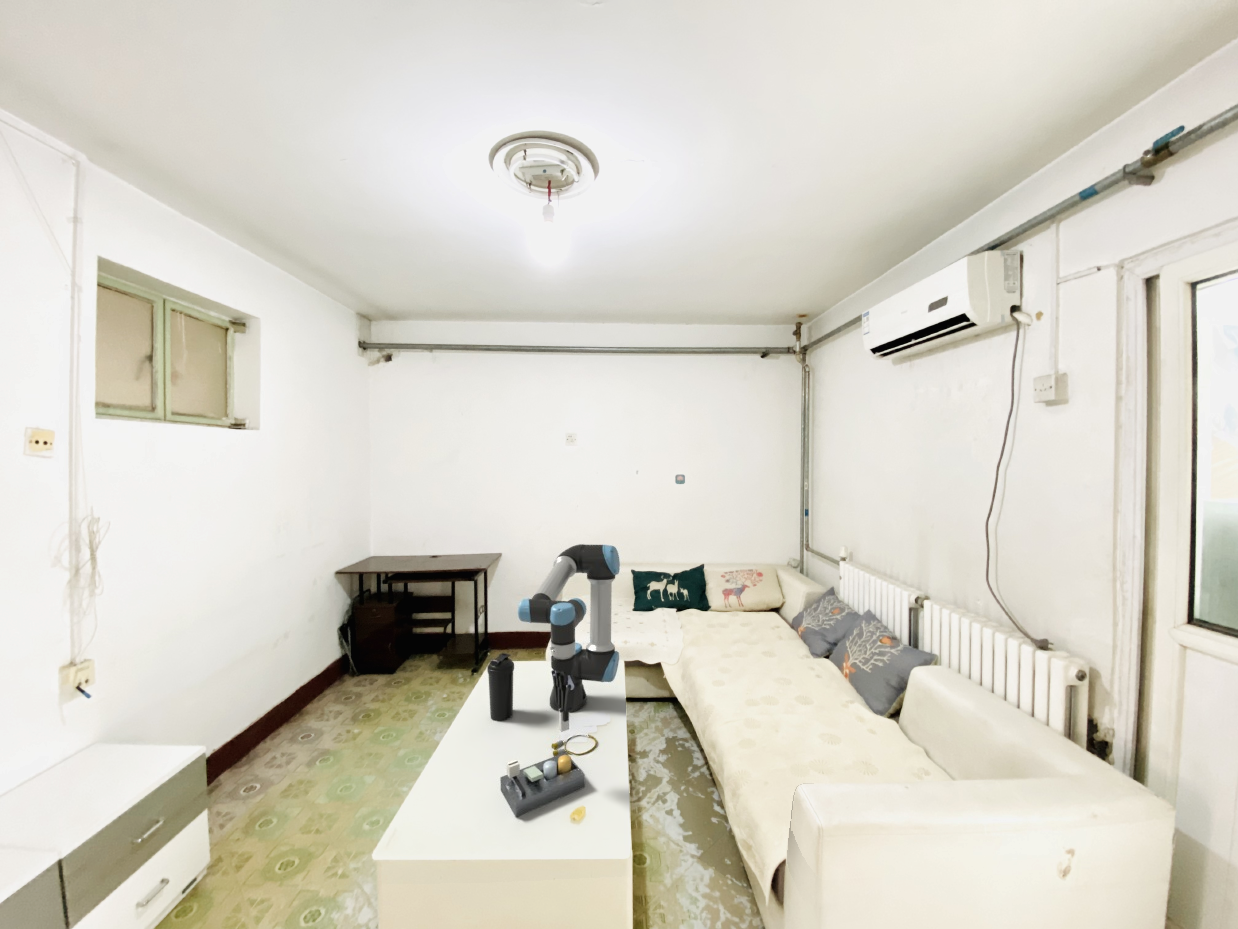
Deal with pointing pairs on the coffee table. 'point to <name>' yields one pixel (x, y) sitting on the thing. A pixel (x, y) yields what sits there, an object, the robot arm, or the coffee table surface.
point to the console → (540, 787)
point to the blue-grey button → (550, 770)
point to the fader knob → (513, 768)
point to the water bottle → (501, 687)
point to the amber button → (564, 764)
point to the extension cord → (567, 750)
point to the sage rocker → (533, 773)
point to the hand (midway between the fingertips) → (564, 729)
